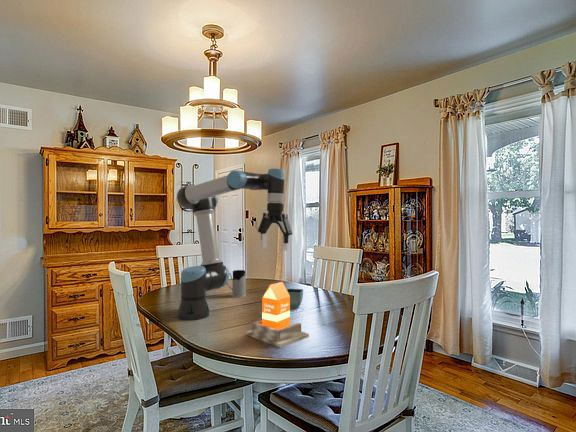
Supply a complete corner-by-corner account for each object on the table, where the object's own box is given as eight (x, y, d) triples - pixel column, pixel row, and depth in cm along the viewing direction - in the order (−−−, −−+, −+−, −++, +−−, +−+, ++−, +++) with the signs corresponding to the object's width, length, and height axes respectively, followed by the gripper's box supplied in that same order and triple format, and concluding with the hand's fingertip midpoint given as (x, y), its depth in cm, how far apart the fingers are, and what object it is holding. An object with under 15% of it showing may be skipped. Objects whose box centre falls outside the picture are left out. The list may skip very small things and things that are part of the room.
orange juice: (261, 333, 141) (261, 284, 141) (275, 327, 148) (275, 280, 148) (277, 337, 137) (277, 286, 137) (290, 331, 144) (290, 282, 144)
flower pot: (300, 310, 180) (300, 292, 180) (284, 309, 182) (284, 292, 182) (303, 305, 188) (303, 289, 188) (287, 304, 190) (287, 288, 190)
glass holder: (241, 297, 206) (241, 272, 206) (221, 295, 212) (221, 271, 212) (248, 294, 215) (248, 270, 215) (228, 292, 220) (228, 269, 220)
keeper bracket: (246, 334, 143) (246, 322, 143) (274, 325, 155) (274, 314, 155) (280, 347, 129) (280, 333, 129) (308, 336, 141) (308, 323, 140)
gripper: (301, 203, 154) (299, 251, 154) (263, 202, 171) (261, 246, 171) (289, 202, 148) (287, 252, 149) (251, 202, 166) (249, 246, 166)
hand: (273, 249), depth 160 cm, fingers open, 13 cm apart
